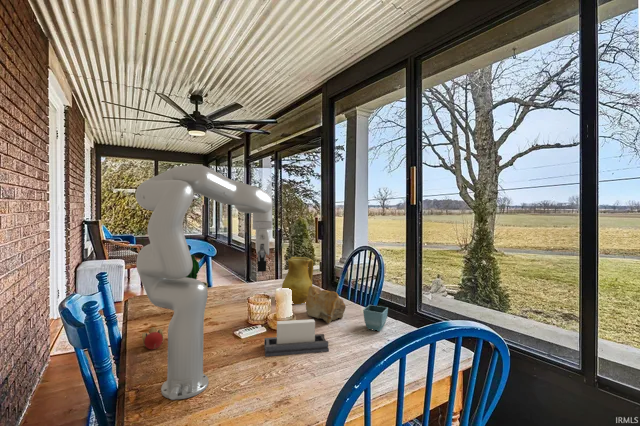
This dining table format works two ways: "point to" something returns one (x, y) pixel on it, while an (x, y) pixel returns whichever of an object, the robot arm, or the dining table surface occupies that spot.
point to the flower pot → (375, 317)
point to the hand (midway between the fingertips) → (261, 268)
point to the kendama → (153, 338)
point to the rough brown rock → (324, 304)
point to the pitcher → (299, 278)
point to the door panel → (295, 331)
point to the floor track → (295, 346)
